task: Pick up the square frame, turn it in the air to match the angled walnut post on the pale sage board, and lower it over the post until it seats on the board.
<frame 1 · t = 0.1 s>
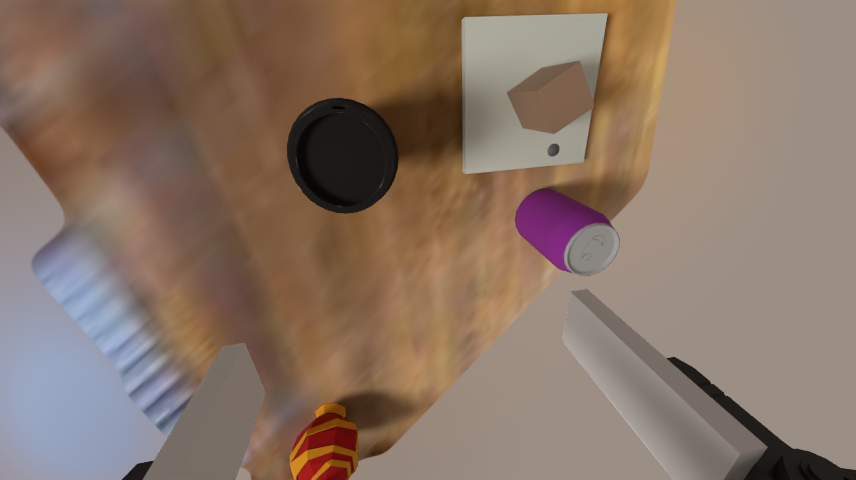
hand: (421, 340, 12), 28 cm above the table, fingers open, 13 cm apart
potion bottle: (330, 412, 53), on the table
post board: (526, 99, 36), on the table
coffee cup: (353, 138, 35), on the table
beverage can: (537, 213, 43), on the table
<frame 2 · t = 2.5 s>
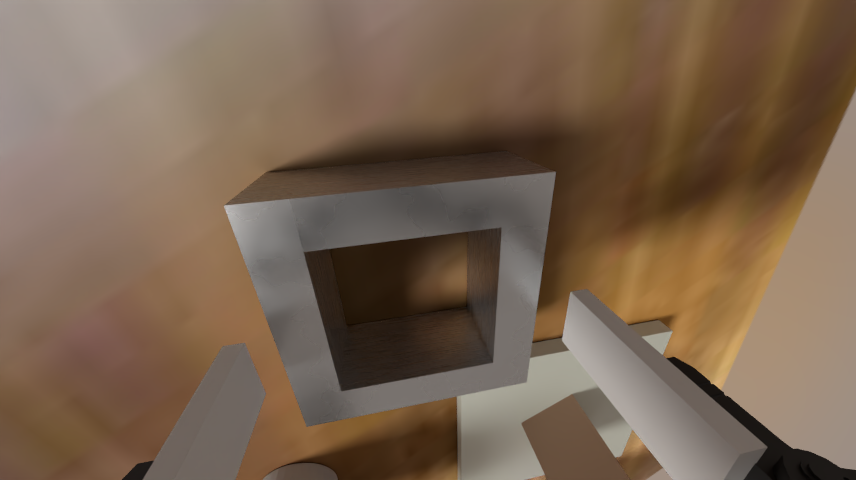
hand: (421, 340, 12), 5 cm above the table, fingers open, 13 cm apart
post board: (548, 407, 26), on the table
square frame: (403, 264, 17), on the table
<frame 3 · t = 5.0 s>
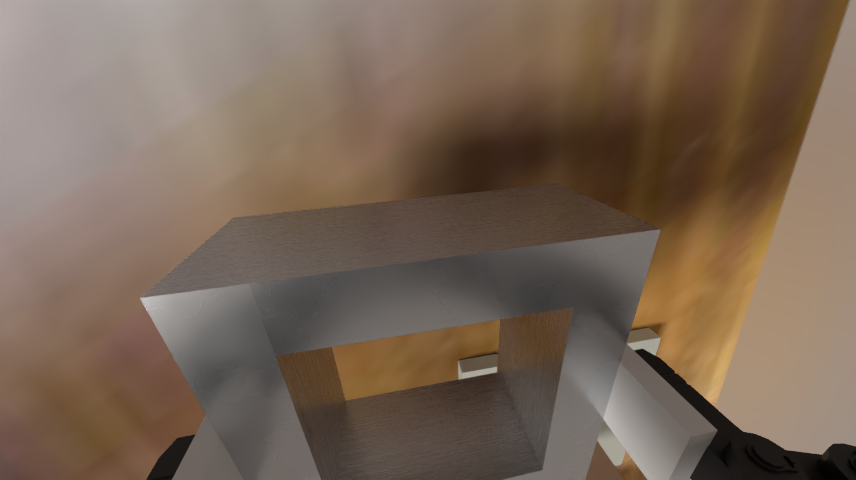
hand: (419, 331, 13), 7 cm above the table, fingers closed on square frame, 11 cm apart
post board: (547, 413, 27), on the table
square frame: (418, 326, 13), point 6 cm above the table, touching gripper
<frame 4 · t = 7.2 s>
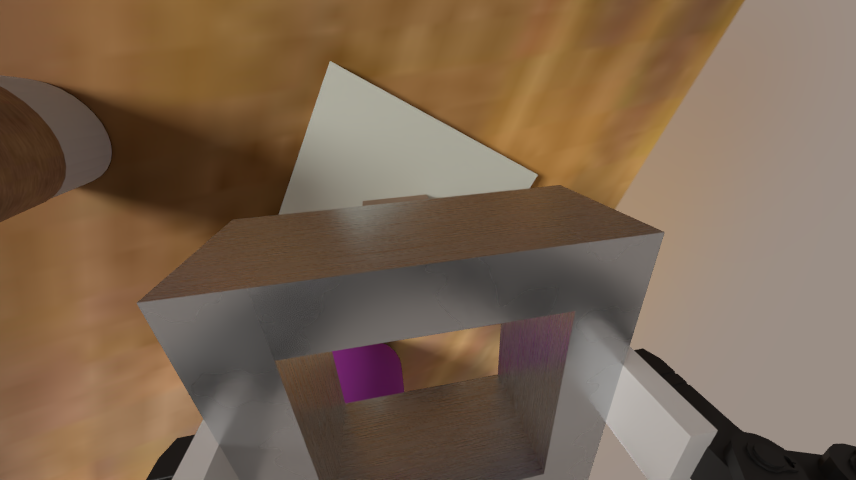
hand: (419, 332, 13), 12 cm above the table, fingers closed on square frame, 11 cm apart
post board: (396, 221, 24), on the table
coffee cup: (54, 134, 18), on the table
beverage can: (361, 361, 30), on the table
square frame: (418, 328, 13), point 12 cm above the table, touching gripper
when the fingers open (3 cm above the table, at t = 9.7 s): square frame drops 1 cm, resting on post board.
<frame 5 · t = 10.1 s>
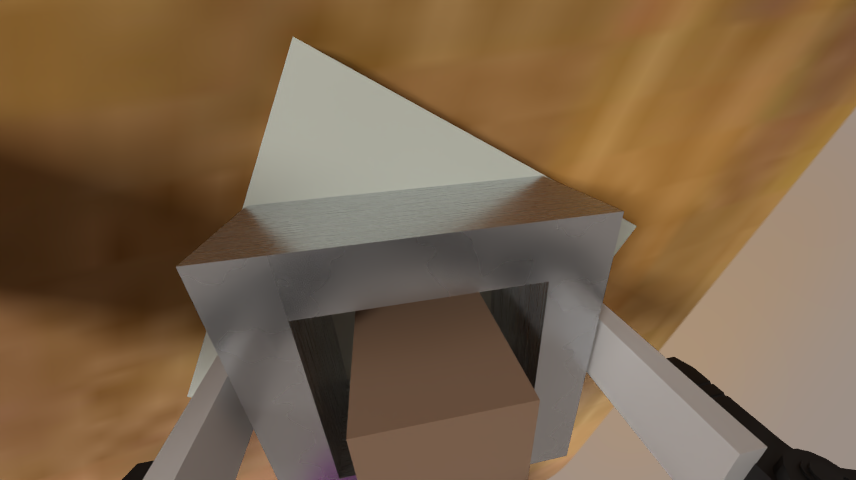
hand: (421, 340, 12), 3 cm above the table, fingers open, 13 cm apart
post board: (411, 295, 15), on the table
square frame: (415, 308, 14), point 1 cm above the table, touching post board
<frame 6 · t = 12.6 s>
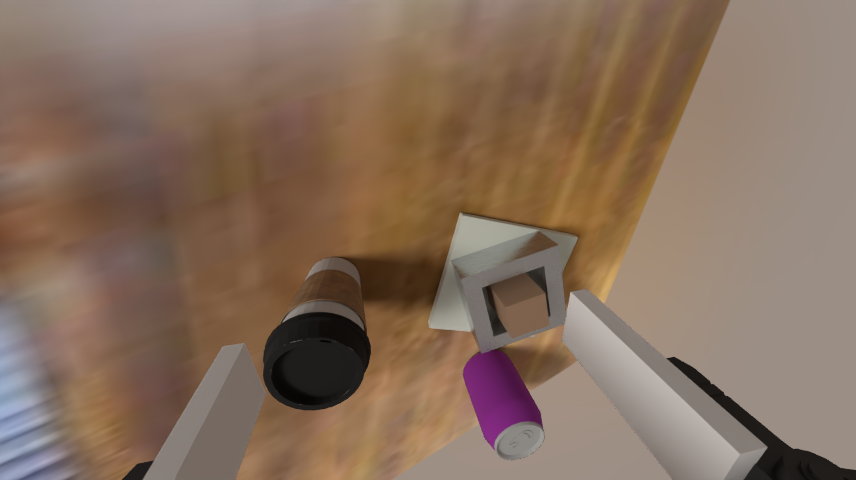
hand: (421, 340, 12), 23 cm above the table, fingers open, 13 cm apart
post board: (499, 279, 41), on the table
coffee cup: (334, 278, 37), on the table
beverage can: (484, 364, 47), on the table
square frame: (502, 282, 40), point 1 cm above the table, touching post board
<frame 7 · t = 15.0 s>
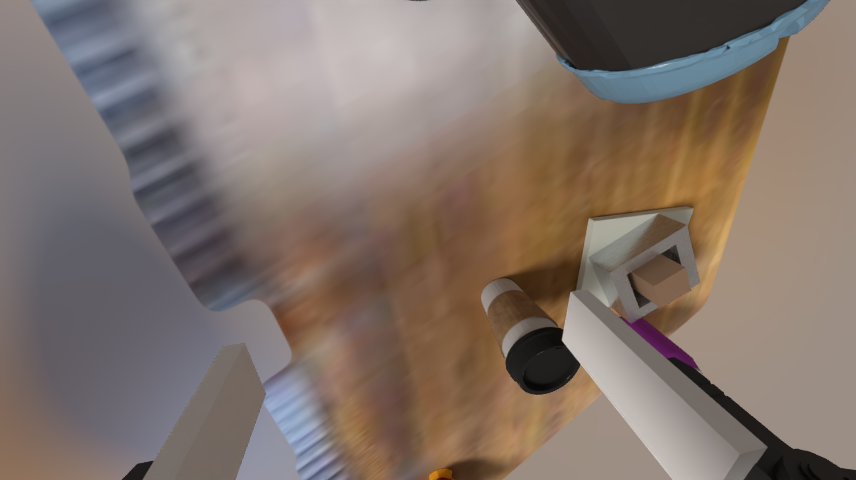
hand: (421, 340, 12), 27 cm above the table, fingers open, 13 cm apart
potion bottle: (440, 475, 64), on the table
post board: (626, 259, 48), on the table
coffee cup: (498, 293, 47), on the table
beverage can: (621, 328, 55), on the table
square frame: (632, 262, 47), point 1 cm above the table, touching post board
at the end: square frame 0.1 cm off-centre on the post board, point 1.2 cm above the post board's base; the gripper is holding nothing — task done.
